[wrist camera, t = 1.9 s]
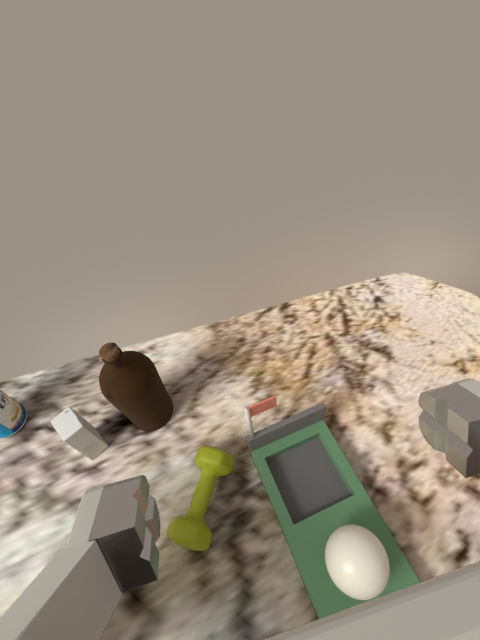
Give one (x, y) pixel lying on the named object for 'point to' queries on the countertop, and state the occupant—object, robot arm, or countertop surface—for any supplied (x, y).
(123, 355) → the olive oil
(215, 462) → the dumbbell
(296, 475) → the putting green
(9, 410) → the beverage bottle
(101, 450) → the skincare box
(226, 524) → the countertop surface
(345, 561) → the ball
